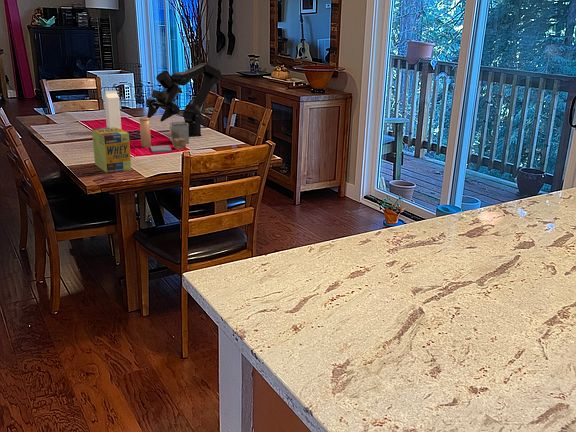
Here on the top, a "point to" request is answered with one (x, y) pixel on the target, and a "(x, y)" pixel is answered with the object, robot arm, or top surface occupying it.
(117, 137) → the protein box
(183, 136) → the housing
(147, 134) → the canister
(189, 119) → the robot arm
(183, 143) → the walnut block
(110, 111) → the milk
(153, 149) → the pad
